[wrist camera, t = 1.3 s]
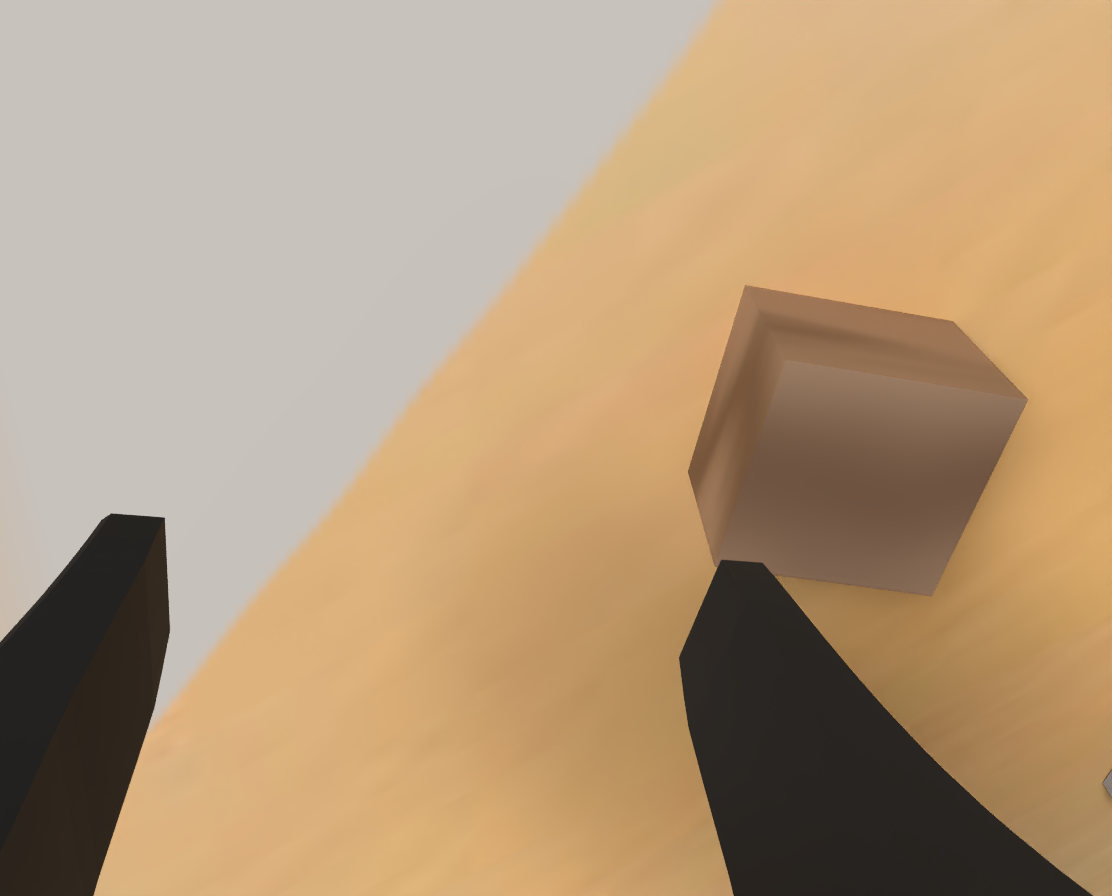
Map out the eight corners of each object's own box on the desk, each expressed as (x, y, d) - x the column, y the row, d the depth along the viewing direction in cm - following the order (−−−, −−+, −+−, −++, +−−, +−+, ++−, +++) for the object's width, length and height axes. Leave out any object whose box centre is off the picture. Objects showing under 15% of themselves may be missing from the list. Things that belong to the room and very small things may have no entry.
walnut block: (874, 496, 25) (931, 596, 22) (687, 468, 24) (714, 566, 21) (950, 319, 22) (1027, 399, 19) (744, 283, 22) (785, 359, 18)
